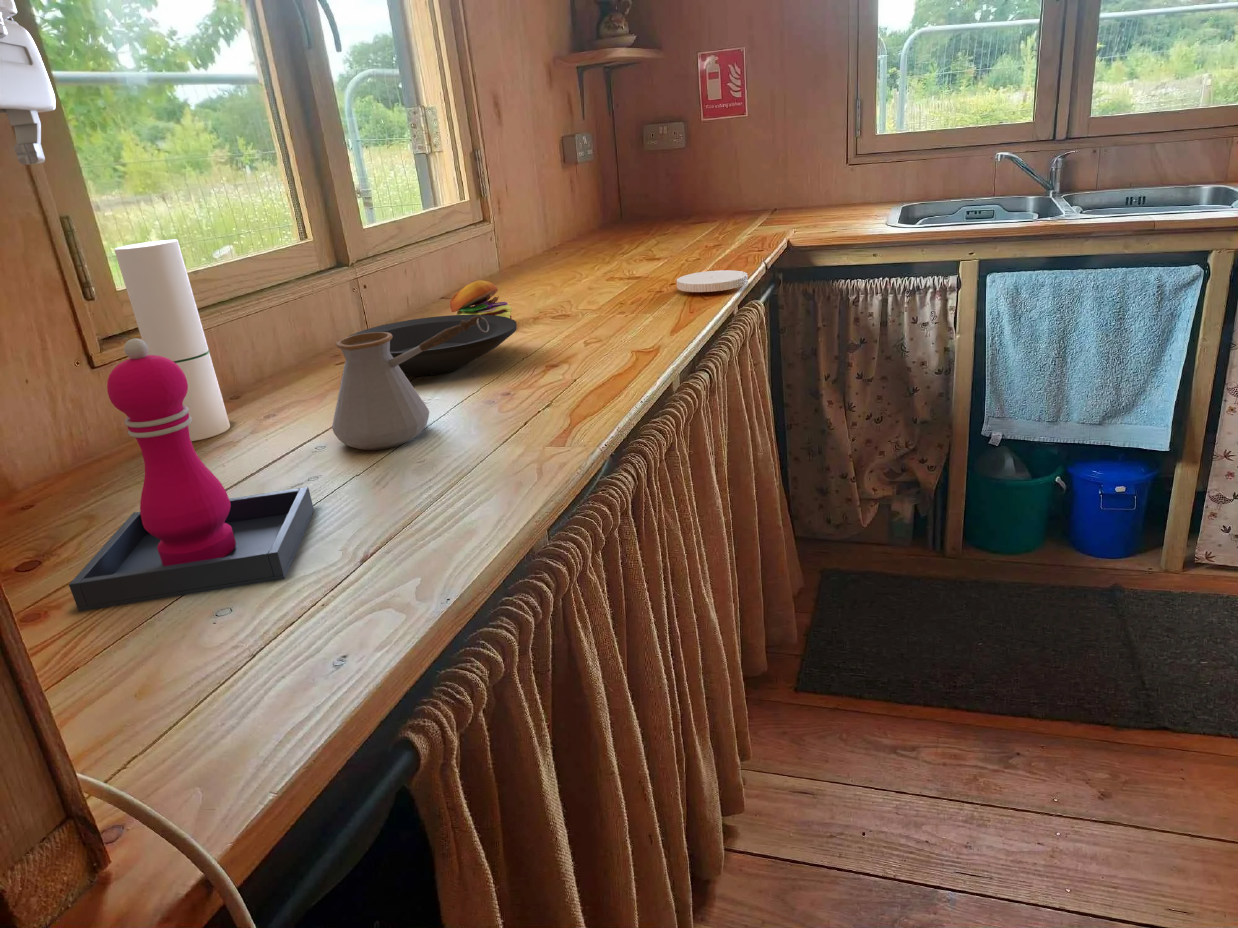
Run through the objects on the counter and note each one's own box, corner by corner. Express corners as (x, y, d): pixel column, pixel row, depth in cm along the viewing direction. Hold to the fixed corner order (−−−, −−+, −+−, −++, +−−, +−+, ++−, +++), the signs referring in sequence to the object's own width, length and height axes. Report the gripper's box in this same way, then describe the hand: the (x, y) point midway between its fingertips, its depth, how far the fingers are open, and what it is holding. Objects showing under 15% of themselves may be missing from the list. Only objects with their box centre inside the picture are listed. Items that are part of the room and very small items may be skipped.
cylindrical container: (221, 422, 121) (169, 238, 112) (238, 432, 116) (184, 240, 106) (167, 437, 117) (108, 248, 108) (181, 448, 112) (121, 250, 102)
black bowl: (315, 390, 132) (306, 354, 130) (397, 348, 153) (390, 317, 151) (482, 389, 123) (475, 351, 121) (544, 345, 144) (540, 312, 142)
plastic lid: (669, 298, 170) (668, 285, 169) (687, 284, 182) (686, 272, 181) (740, 296, 165) (739, 282, 164) (753, 281, 178) (753, 269, 177)
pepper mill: (156, 550, 81) (86, 340, 73) (238, 528, 84) (179, 323, 76) (157, 581, 75) (81, 355, 67) (245, 557, 78) (182, 337, 70)
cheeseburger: (492, 337, 153) (472, 282, 150) (451, 348, 159) (431, 296, 157) (527, 322, 161) (508, 270, 158) (486, 334, 167) (467, 283, 165)
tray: (80, 616, 72) (68, 584, 71) (142, 539, 86) (133, 512, 84) (286, 583, 74) (277, 552, 73) (315, 513, 87) (308, 486, 86)
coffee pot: (318, 459, 102) (288, 334, 97) (367, 426, 113) (342, 311, 107) (486, 460, 97) (464, 327, 91) (522, 424, 107) (504, 303, 101)
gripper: (-25, 12, 83) (26, 165, 88) (-173, -24, 64) (-97, 174, 69) (45, 6, 83) (92, 158, 88) (-81, -31, 64) (-12, 165, 69)
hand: (8, 166), depth 78 cm, fingers open, 8 cm apart
